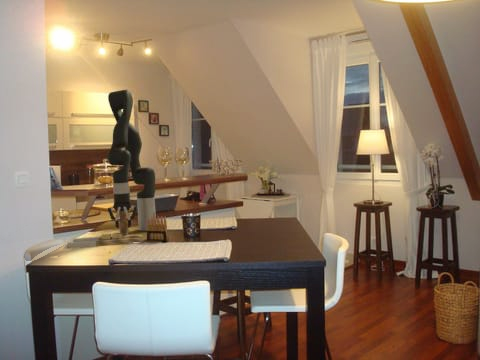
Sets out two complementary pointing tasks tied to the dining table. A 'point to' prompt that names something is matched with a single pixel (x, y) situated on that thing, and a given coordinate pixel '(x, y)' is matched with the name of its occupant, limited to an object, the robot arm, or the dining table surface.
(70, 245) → the tray
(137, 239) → the slot channel
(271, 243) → the dining table surface
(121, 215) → the rake tool
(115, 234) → the chip
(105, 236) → the chip
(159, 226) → the ammunition clip
